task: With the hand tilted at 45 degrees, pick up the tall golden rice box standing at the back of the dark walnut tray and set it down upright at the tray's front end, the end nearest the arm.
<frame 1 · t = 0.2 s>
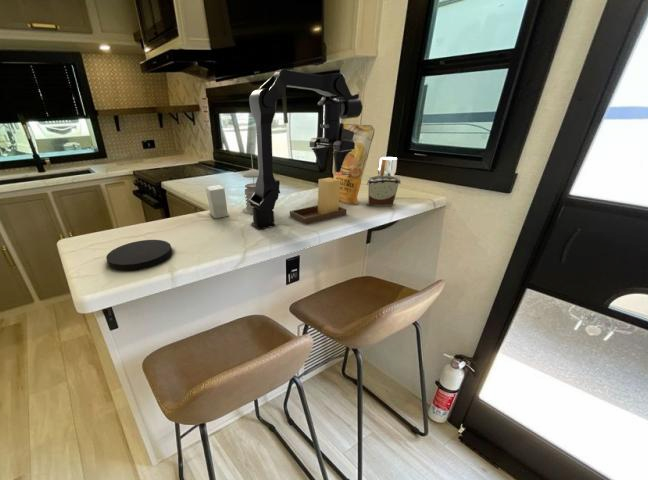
hand: (330, 170, 111), 15 cm above the countertop, tool pointing down, fingers open, 9 cm apart
pancake mix bag: (346, 200, 131), on the countertop
small box: (218, 215, 122), on the countertop
tray: (317, 216, 114), on the countertop
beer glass: (383, 196, 133), on the countertop
rice box: (327, 213, 116), resting on tray
wireless charger: (141, 258, 91), on the countertop
food container: (379, 203, 124), on the countertop
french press: (257, 210, 125), on the countertop
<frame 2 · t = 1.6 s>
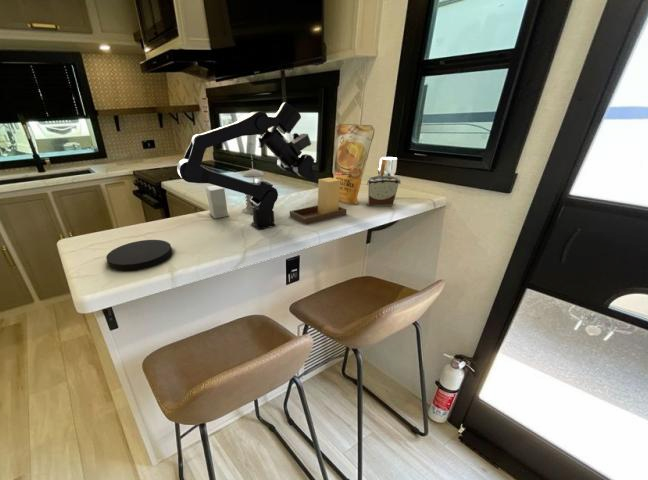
hand: (310, 178, 107), 13 cm above the countertop, tool tilted 45°, fingers open, 9 cm apart
nothing on the countertop moved.
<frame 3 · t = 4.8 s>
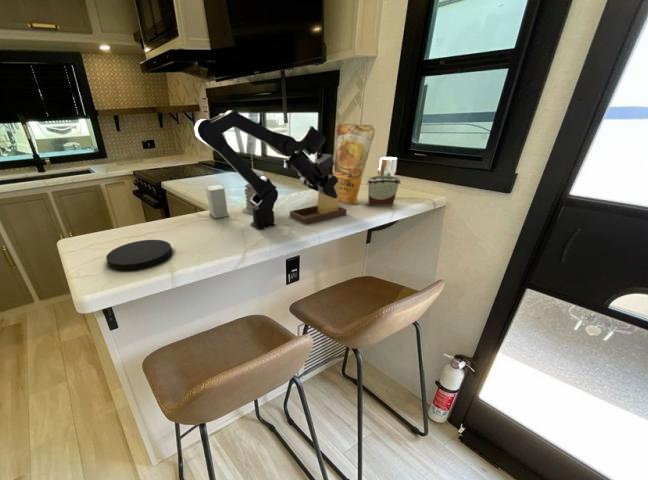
hand: (331, 195, 113), 7 cm above the countertop, tool tilted 45°, fingers closed on rice box, 6 cm apart
rice box: (327, 213, 116), resting on tray, touching gripper
everything else where it was.
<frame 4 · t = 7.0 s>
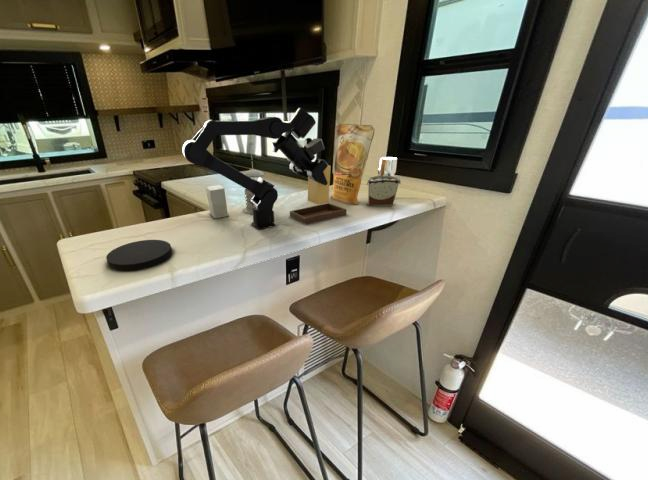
hand: (322, 182, 108), 12 cm above the countertop, tool tilted 45°, fingers closed on rice box, 6 cm apart
rice box: (317, 201, 111), point 5 cm above the countertop, touching gripper
everything else where it was.
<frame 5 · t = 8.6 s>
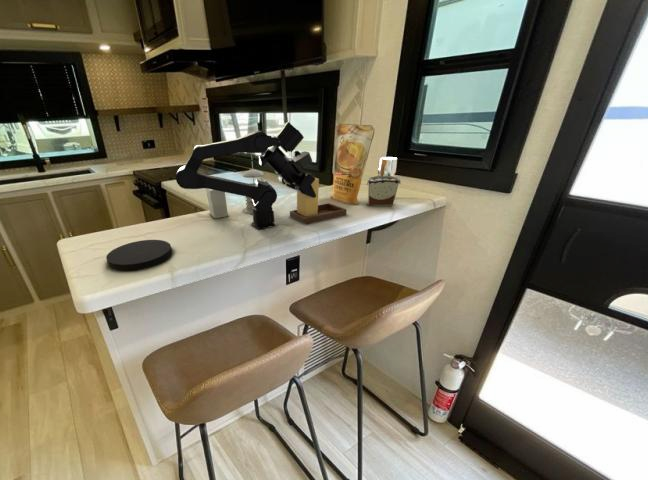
hand: (311, 194, 108), 8 cm above the countertop, tool tilted 45°, fingers closed on rice box, 6 cm apart
rice box: (307, 213, 111), point 2 cm above the countertop, touching gripper
everything else where it was.
when the fingers open (7 cm above the countertop, at t = 9.7 s): rice box stays where it is, resting on tray.
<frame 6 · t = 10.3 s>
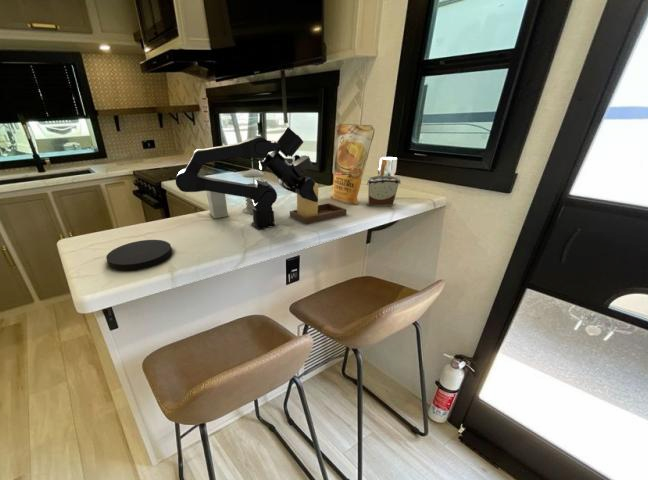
hand: (311, 198, 109), 7 cm above the countertop, tool tilted 45°, fingers open, 9 cm apart
rice box: (307, 217, 112), resting on tray
everything else where it was.
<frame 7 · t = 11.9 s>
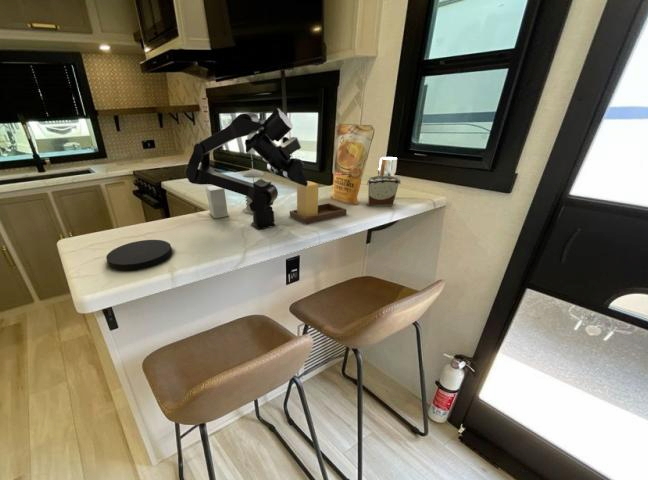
hand: (300, 182, 105), 13 cm above the countertop, tool tilted 45°, fingers open, 9 cm apart
nothing on the countertop moved.
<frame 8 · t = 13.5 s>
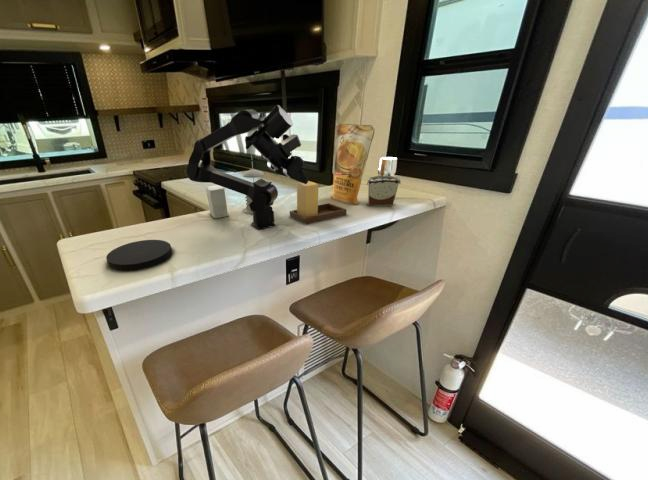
hand: (300, 180, 105), 14 cm above the countertop, tool tilted 45°, fingers open, 9 cm apart
nothing on the countertop moved.
at the end: rice box inside the target area in the tray (0.4 cm from its centre), point 0.3 cm above the tray's base; rice box tilted 0°; the gripper is holding nothing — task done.
